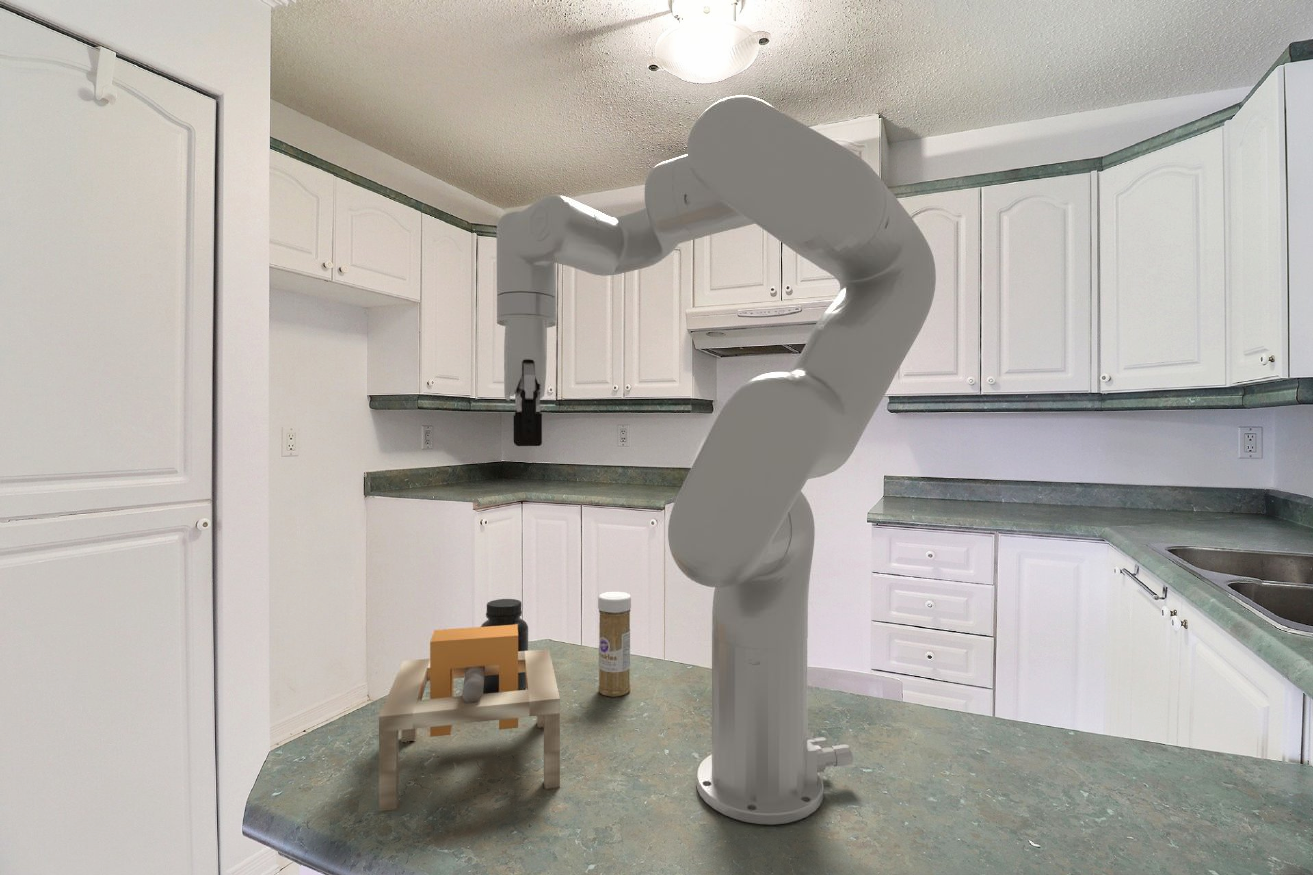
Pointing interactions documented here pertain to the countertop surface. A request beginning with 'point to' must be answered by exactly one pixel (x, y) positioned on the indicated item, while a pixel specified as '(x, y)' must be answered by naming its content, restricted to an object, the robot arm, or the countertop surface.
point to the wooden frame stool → (467, 712)
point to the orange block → (473, 661)
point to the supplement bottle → (502, 615)
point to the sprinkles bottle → (614, 643)
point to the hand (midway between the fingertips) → (526, 445)
